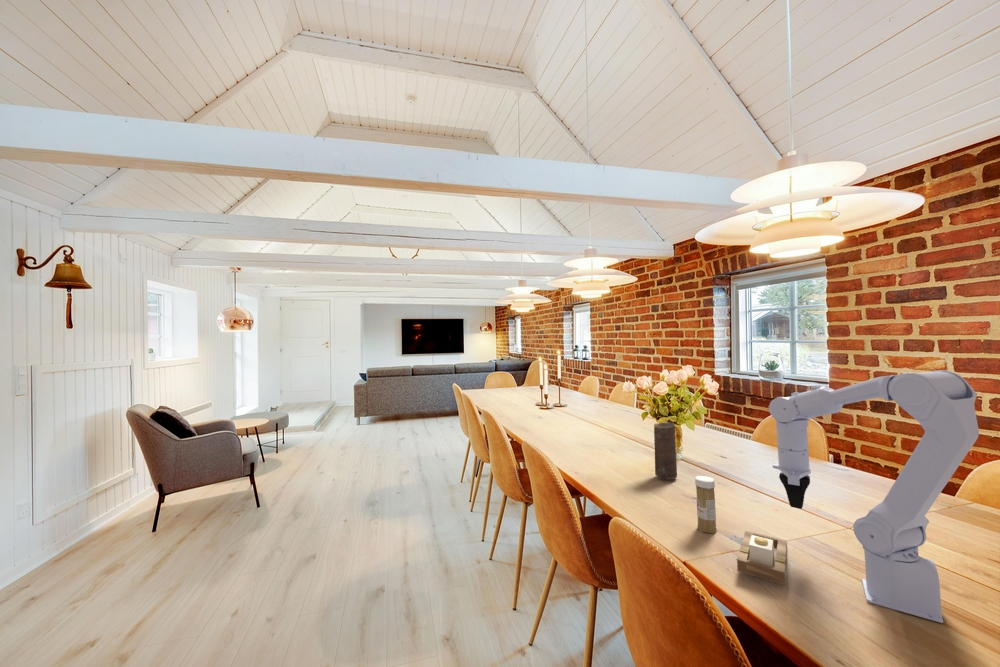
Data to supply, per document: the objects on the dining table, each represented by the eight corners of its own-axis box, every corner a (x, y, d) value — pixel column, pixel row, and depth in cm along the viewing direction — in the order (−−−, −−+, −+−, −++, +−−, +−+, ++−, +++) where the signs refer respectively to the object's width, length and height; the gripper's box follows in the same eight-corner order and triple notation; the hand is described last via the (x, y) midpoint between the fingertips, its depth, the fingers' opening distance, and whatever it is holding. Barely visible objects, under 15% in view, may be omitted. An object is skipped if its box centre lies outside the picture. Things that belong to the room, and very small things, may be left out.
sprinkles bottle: (693, 526, 101) (691, 475, 102) (709, 524, 102) (707, 474, 102) (704, 534, 97) (701, 481, 97) (721, 533, 97) (718, 480, 98)
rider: (752, 553, 84) (751, 532, 84) (774, 558, 81) (773, 537, 81) (750, 563, 80) (749, 542, 80) (772, 570, 77) (771, 547, 77)
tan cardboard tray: (746, 545, 91) (745, 529, 91) (787, 556, 86) (786, 539, 86) (738, 576, 79) (737, 558, 79) (785, 591, 74) (784, 571, 74)
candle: (681, 482, 133) (678, 425, 134) (660, 482, 133) (657, 426, 134) (671, 474, 141) (669, 421, 141) (652, 475, 141) (649, 421, 141)
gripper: (773, 439, 96) (776, 493, 96) (769, 453, 85) (773, 514, 85) (809, 443, 92) (812, 499, 91) (810, 458, 81) (814, 522, 80)
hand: (796, 506), depth 88 cm, fingers closed
